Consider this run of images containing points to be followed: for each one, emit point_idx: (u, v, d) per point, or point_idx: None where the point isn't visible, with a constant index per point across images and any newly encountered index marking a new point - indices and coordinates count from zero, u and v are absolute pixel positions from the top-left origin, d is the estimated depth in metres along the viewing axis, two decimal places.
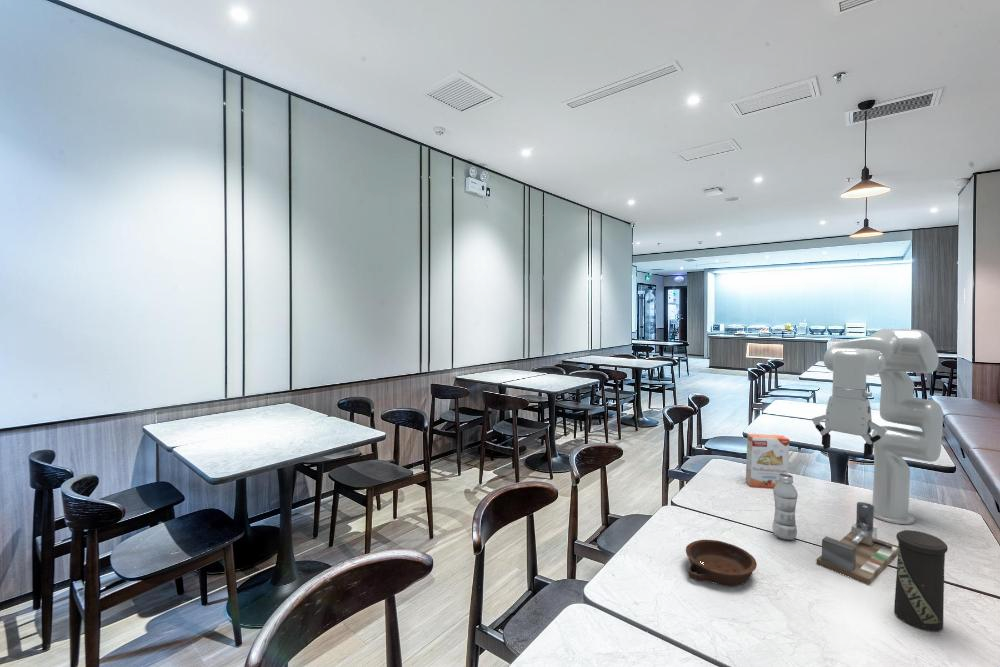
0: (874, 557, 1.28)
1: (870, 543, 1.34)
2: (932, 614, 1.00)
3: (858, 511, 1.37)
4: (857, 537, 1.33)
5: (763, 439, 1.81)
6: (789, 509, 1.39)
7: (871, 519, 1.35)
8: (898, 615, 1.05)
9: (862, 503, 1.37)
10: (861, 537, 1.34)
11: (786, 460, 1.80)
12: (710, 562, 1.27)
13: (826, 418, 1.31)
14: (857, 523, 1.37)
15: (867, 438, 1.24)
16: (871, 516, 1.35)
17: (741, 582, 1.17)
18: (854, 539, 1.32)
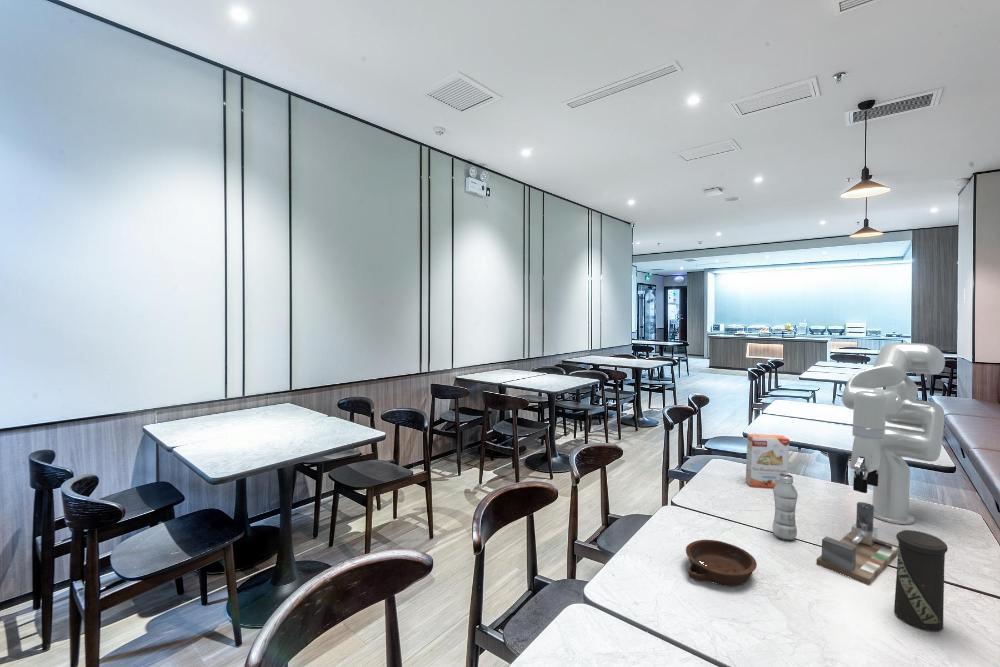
0: (874, 557, 1.28)
1: (870, 543, 1.34)
2: (932, 614, 1.00)
3: (858, 511, 1.37)
4: (857, 537, 1.33)
5: (763, 439, 1.81)
6: (789, 509, 1.39)
7: (871, 519, 1.35)
8: (898, 615, 1.05)
9: (862, 503, 1.37)
10: (861, 537, 1.34)
11: (786, 460, 1.80)
12: (710, 562, 1.27)
13: (870, 462, 1.31)
14: (857, 523, 1.37)
15: (877, 468, 1.37)
16: (871, 516, 1.35)
17: (741, 582, 1.17)
18: (854, 539, 1.32)
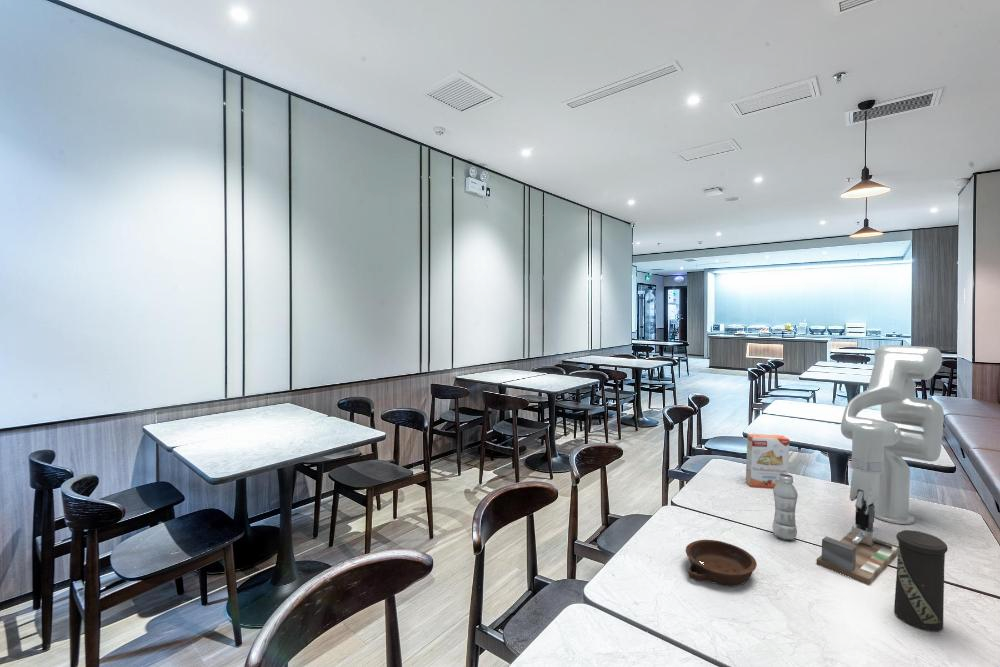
0: (874, 557, 1.28)
1: (870, 543, 1.34)
2: (932, 614, 1.00)
3: None
4: (857, 537, 1.33)
5: (763, 439, 1.81)
6: (789, 509, 1.39)
7: (871, 519, 1.35)
8: (898, 615, 1.05)
9: None
10: (861, 537, 1.34)
11: (786, 460, 1.80)
12: (710, 562, 1.27)
13: (869, 495, 1.32)
14: None
15: (874, 504, 1.37)
16: (871, 516, 1.35)
17: (741, 582, 1.17)
18: (854, 539, 1.32)
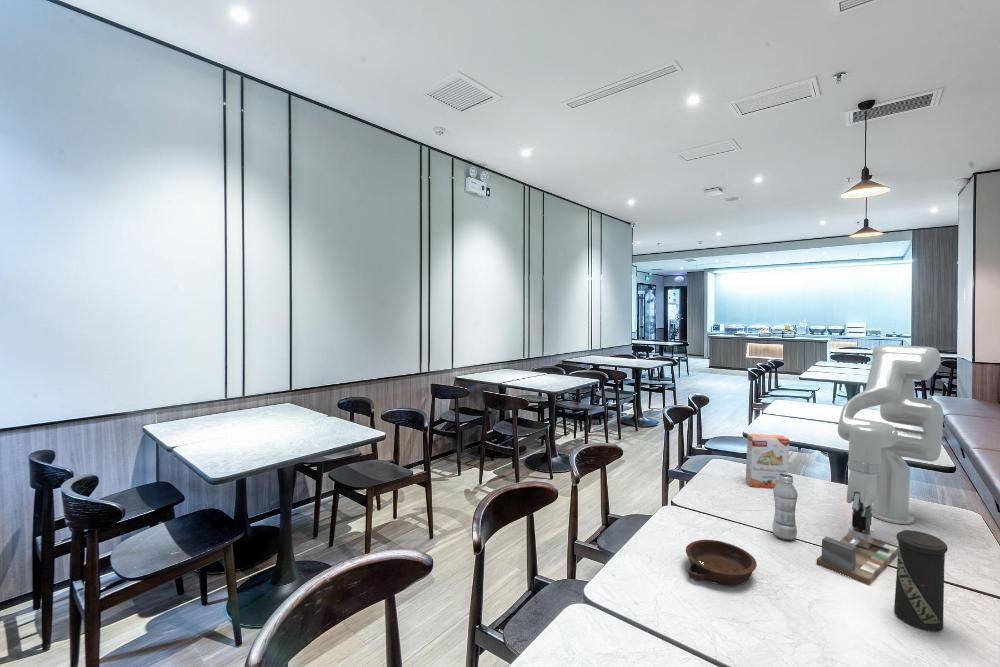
0: (874, 557, 1.28)
1: (867, 546, 1.32)
2: (932, 614, 1.00)
3: None
4: (854, 540, 1.32)
5: (763, 439, 1.81)
6: (789, 509, 1.39)
7: (868, 521, 1.33)
8: (898, 615, 1.05)
9: None
10: (858, 540, 1.32)
11: (786, 460, 1.80)
12: (710, 562, 1.27)
13: (866, 497, 1.30)
14: None
15: (871, 506, 1.36)
16: (868, 518, 1.33)
17: (741, 582, 1.17)
18: (851, 542, 1.31)
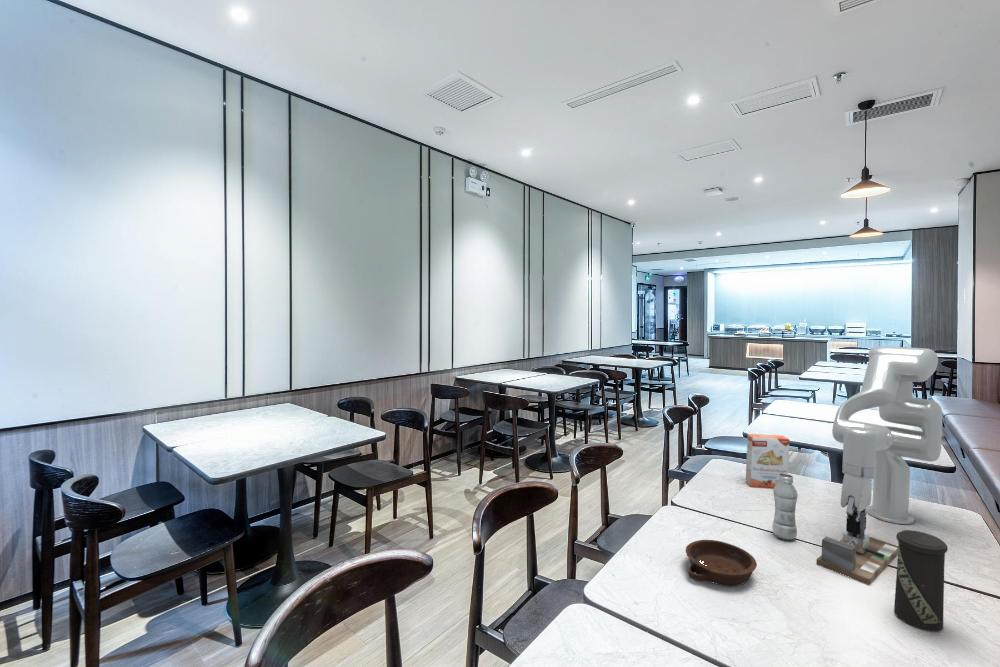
0: (874, 557, 1.28)
1: (861, 551, 1.29)
2: (932, 614, 1.00)
3: None
4: None
5: (763, 439, 1.81)
6: (789, 509, 1.39)
7: (862, 526, 1.30)
8: (898, 615, 1.05)
9: None
10: None
11: (786, 460, 1.80)
12: (710, 562, 1.27)
13: (860, 501, 1.28)
14: None
15: (865, 510, 1.33)
16: (862, 523, 1.30)
17: (741, 582, 1.17)
18: None
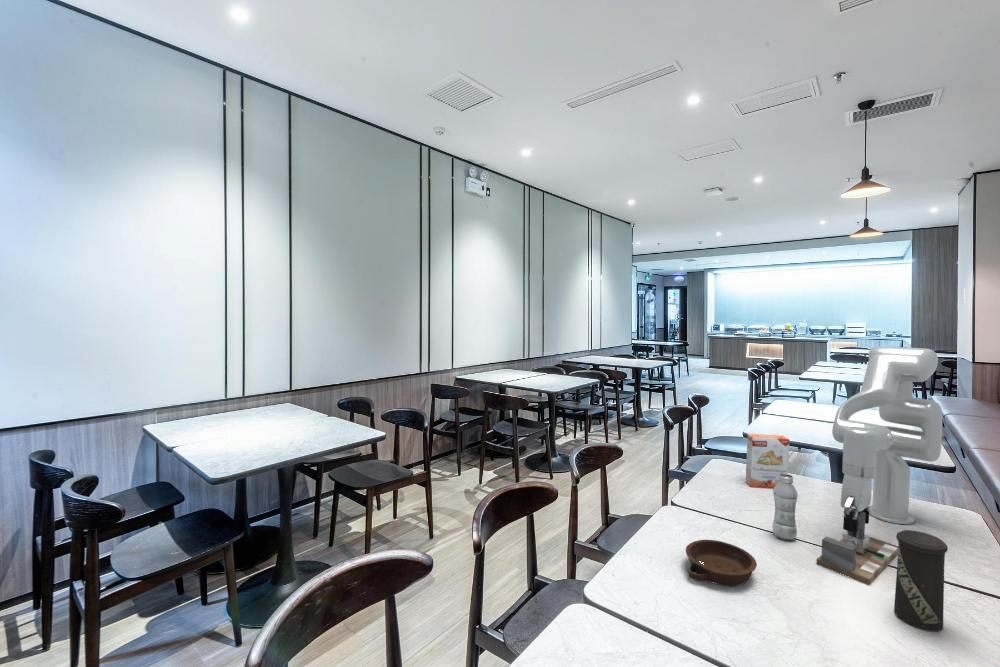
0: (874, 557, 1.28)
1: (861, 551, 1.29)
2: (932, 614, 1.00)
3: None
4: None
5: (763, 439, 1.81)
6: (789, 509, 1.39)
7: (862, 526, 1.30)
8: (898, 615, 1.05)
9: None
10: None
11: (786, 460, 1.80)
12: (710, 562, 1.27)
13: (860, 501, 1.28)
14: None
15: (868, 505, 1.34)
16: (862, 523, 1.30)
17: (741, 582, 1.17)
18: None
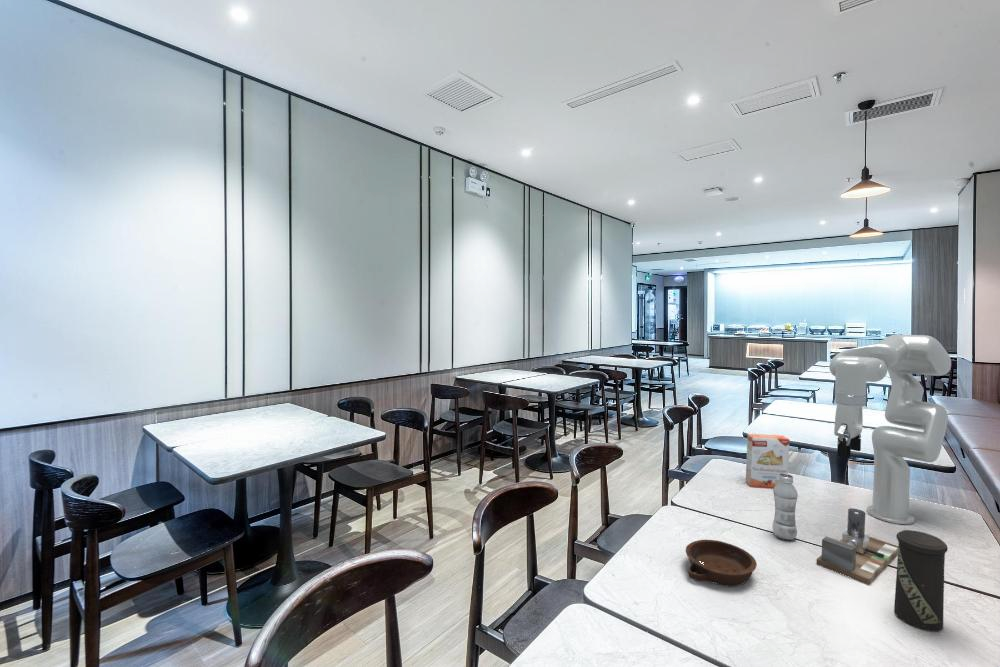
0: (874, 557, 1.28)
1: (861, 551, 1.29)
2: (932, 614, 1.00)
3: (849, 518, 1.32)
4: None
5: (763, 439, 1.81)
6: (789, 509, 1.39)
7: (862, 526, 1.30)
8: (898, 615, 1.05)
9: (853, 509, 1.33)
10: None
11: (786, 460, 1.80)
12: (710, 562, 1.27)
13: (852, 428, 1.35)
14: (848, 530, 1.33)
15: (859, 433, 1.41)
16: (862, 523, 1.30)
17: (741, 582, 1.17)
18: None
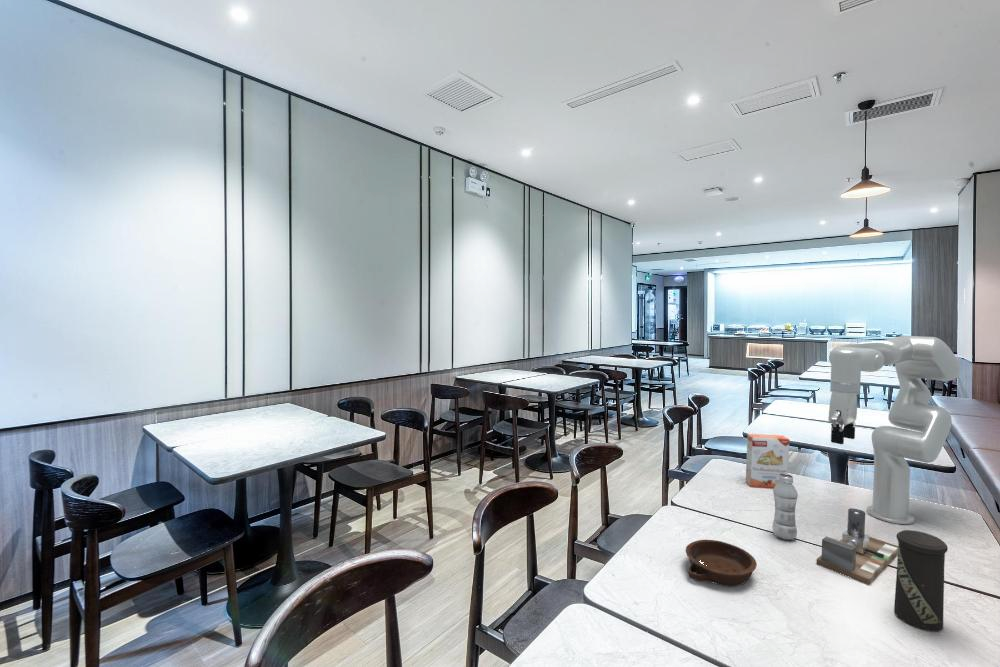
0: (874, 557, 1.28)
1: (861, 551, 1.29)
2: (932, 614, 1.00)
3: (849, 518, 1.32)
4: None
5: (763, 439, 1.81)
6: (789, 509, 1.39)
7: (862, 526, 1.30)
8: (898, 615, 1.05)
9: (853, 509, 1.33)
10: None
11: (786, 460, 1.80)
12: (710, 562, 1.27)
13: (846, 415, 1.39)
14: (848, 530, 1.33)
15: (854, 422, 1.46)
16: (862, 523, 1.30)
17: (741, 582, 1.17)
18: None
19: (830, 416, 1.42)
